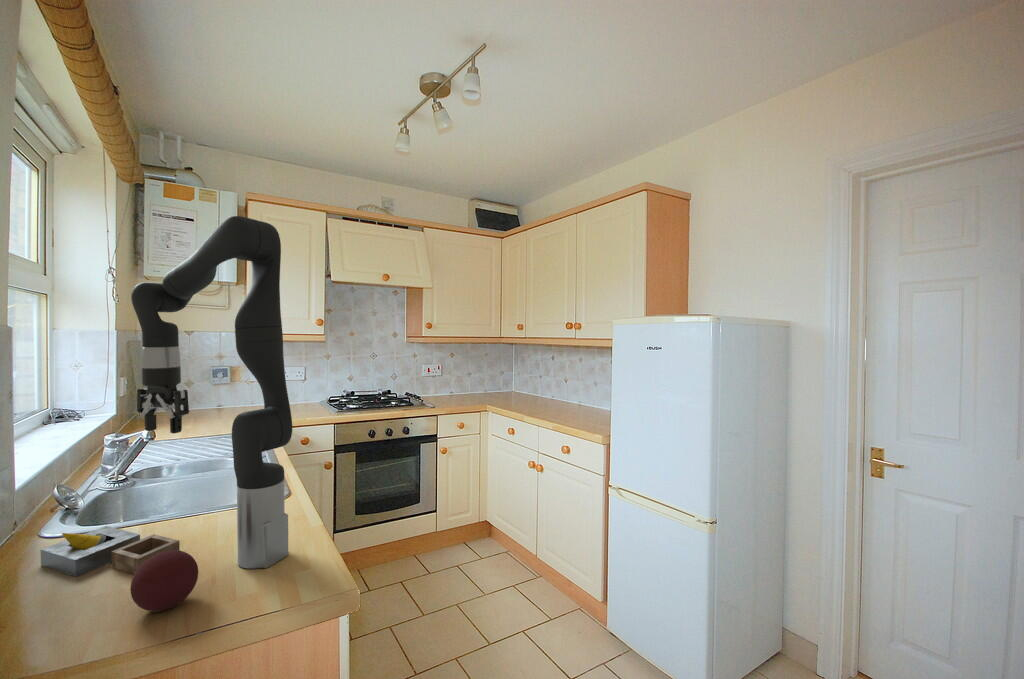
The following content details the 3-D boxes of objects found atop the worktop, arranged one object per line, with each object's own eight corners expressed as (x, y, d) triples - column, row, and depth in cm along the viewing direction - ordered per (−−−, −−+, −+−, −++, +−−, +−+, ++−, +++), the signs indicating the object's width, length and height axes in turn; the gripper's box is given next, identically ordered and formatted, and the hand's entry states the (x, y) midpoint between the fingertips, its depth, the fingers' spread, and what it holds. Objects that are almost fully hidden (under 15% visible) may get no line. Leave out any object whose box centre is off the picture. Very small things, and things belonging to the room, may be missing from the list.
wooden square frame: (179, 555, 102) (179, 540, 102) (138, 575, 94) (137, 558, 94) (154, 549, 105) (153, 534, 105) (111, 567, 97) (111, 551, 97)
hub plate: (140, 549, 105) (140, 534, 105) (75, 576, 94) (75, 560, 93) (106, 540, 109) (106, 525, 109) (41, 565, 98) (40, 549, 97)
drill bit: (106, 562, 100) (60, 541, 95) (91, 568, 101) (44, 548, 96) (122, 538, 104) (78, 518, 99) (107, 545, 106) (63, 525, 100)
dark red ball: (124, 608, 84) (123, 554, 83) (189, 584, 91) (188, 535, 91) (138, 632, 77) (137, 574, 77) (206, 604, 85) (205, 551, 85)
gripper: (198, 364, 112) (199, 430, 113) (156, 363, 117) (158, 426, 117) (166, 367, 105) (168, 437, 106) (124, 366, 110) (126, 433, 110)
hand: (163, 431), depth 112 cm, fingers open, 8 cm apart
